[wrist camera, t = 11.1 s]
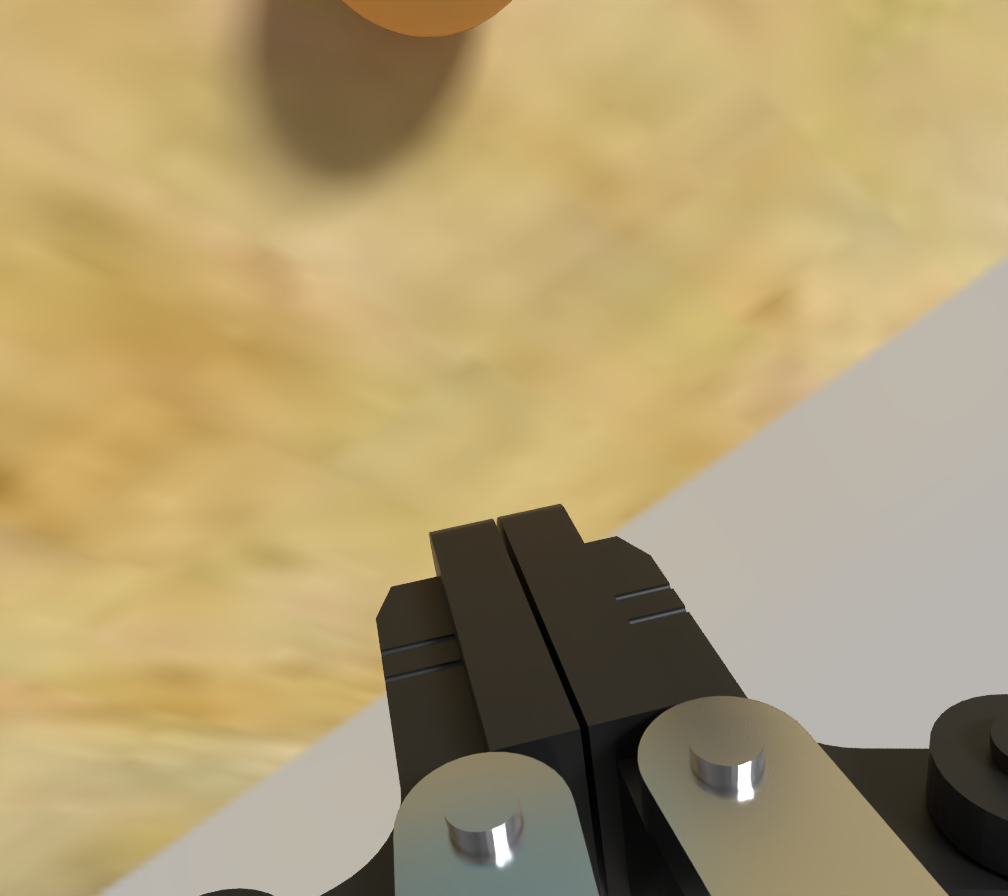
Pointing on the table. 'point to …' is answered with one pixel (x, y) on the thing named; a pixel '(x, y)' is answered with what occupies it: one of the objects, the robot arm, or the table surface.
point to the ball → (427, 14)
